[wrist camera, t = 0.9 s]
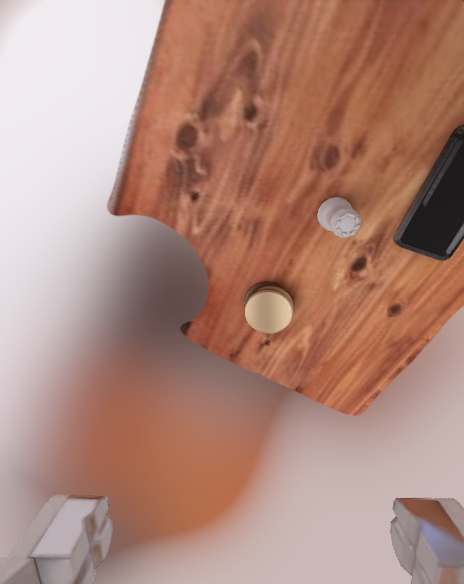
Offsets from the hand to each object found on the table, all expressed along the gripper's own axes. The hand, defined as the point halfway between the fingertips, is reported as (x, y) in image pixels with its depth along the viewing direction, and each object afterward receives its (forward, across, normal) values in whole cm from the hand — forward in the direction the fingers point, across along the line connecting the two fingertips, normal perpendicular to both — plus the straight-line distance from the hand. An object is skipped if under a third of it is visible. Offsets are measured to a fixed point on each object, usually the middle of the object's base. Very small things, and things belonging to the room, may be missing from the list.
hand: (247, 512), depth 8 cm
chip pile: (+38, -4, +5) cm, 38 cm away
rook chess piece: (+35, -12, -9) cm, 38 cm away
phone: (+33, -26, -10) cm, 44 cm away
